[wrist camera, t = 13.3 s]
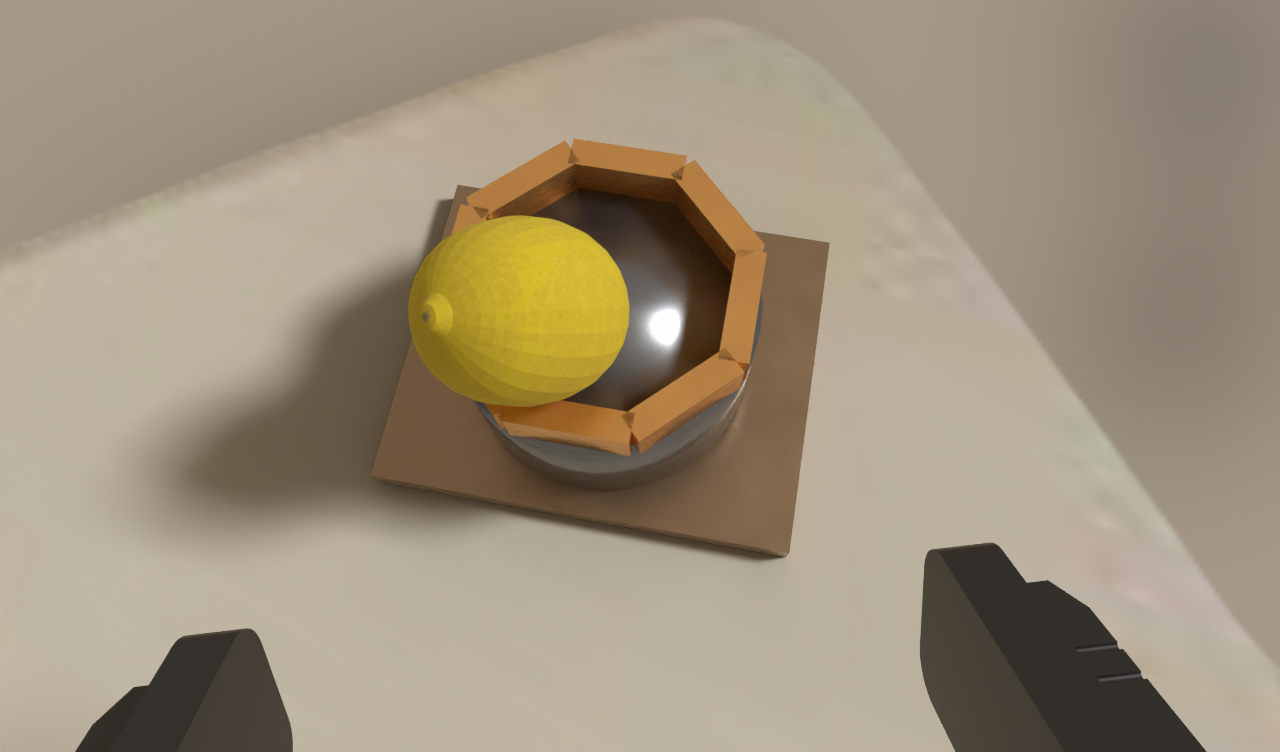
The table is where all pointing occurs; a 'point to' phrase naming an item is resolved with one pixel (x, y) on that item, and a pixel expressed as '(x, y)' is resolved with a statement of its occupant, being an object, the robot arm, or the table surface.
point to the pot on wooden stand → (641, 365)
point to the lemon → (518, 311)
